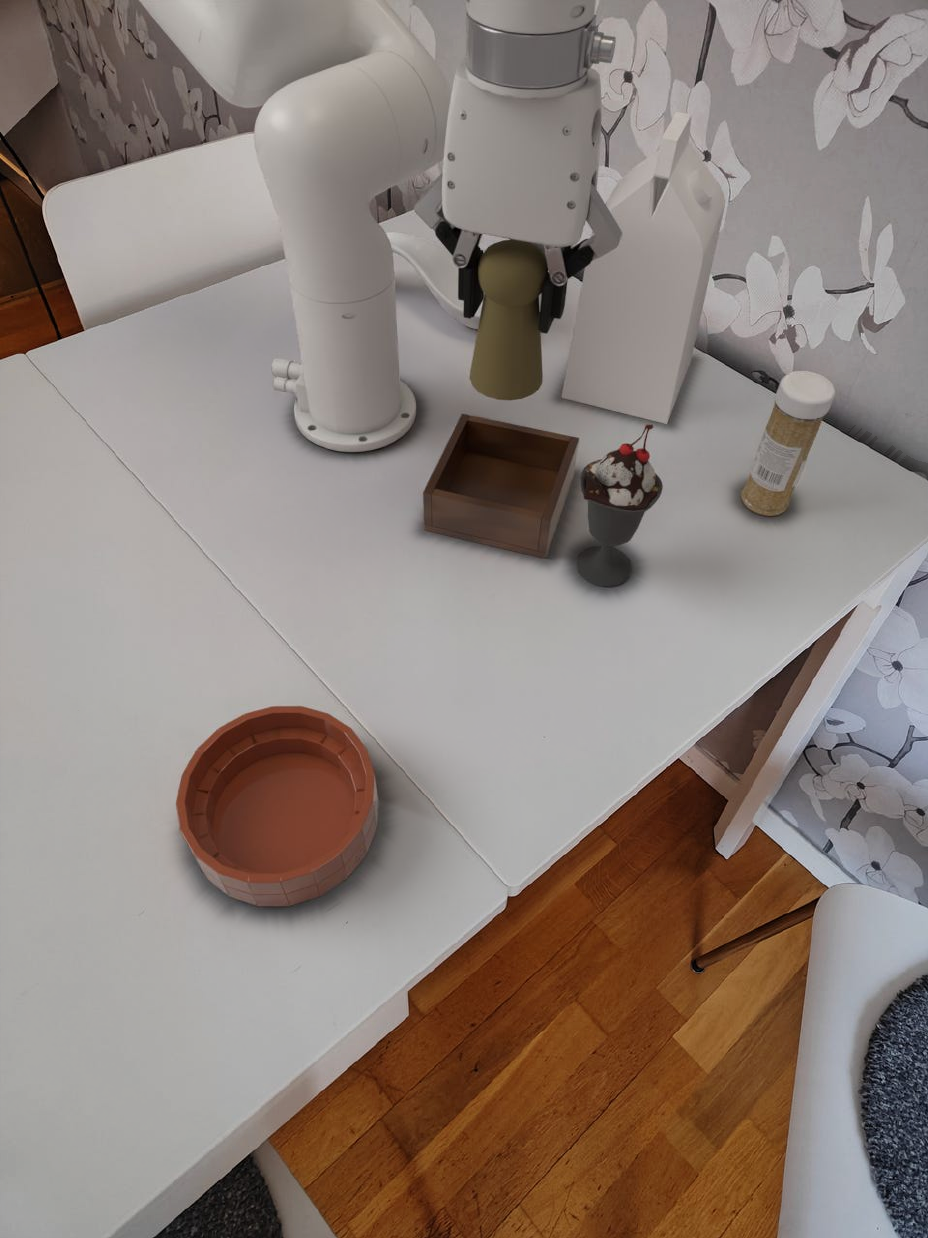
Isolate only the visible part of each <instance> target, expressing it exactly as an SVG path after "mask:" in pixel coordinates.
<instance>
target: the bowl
mask: <svg viewBox="0 0 928 1238" xmlns="http://www.w3.org/2000/svg"><path fill="white" fill-rule="evenodd" d="M175 806H176V813H177V820H178V826H179V831H180V833H181V835H182V837H183V839H184V840H185V842H186V844H187V846H188V848H189V850H190V852H191V853H192V855H193V856H194V859H195V860H196V863H198V865H199V867H200V869H201V871H202V872H203V874H204V876H205V877H206V879H207V880H208V881H209V882H210V883H212V884H213V885H214V886H216V887H217V888H218V889H219V890H220V891H222V892H223V893H224V894H226V895H227V896H228V897H230V898H231V899H234V900H235V899H236V900H238V901H241V902H244V903H247V904H250V905H254V906H258V907H290V906H294V905H297V904H301V903H304V902H306V901H310V900H312V899H316V898H319V897H322V896H323V895H325V894H326V893H328V892H329V891H331V890H332V889H333V888H335V887H337V886H338V885H339V884H341V883H342V882H344V881H346V880H347V879H348V878H349V877H350V875H351V874H352V873H353V872H354V870H355V869H356V868H357V867H358V866H359V864H360V863H361V862H362V861H363V860H364V858H365V857H366V855H367V854H368V851H369V849H370V846H371V844H372V842H373V839H374V837H375V834H376V831H377V827H378V814H379V797H378V790H377V781H376V774H375V770H374V767H373V764H372V761H371V758H370V755H369V751H368V748H367V747H366V746H365V744H364V743H363V742H362V740H361V739H360V738H359V737H358V735H357V734H356V733H355V731H354V730H353V729H352V727H350V726H348V724H345V723H344V722H342V721H341V720H340V719H338V718H336V717H335V716H333V715H332V714H330V713H327V712H324V711H321V710H318V709H313V708H310V707H307V706H303V705H274V706H269V707H265V708H264V707H263V708H261V709H257V710H253V711H249V712H246V713H243V714H242V715H240V716H238V717H236V718H234V719H232V720H230V721H229V722H227V723H225V724H224V725H221V726H220V727H218V728H217V729H216V730H215V731H214V732H212V734H210V736H209V737H208V738H207V739H205V740H204V741H203V742H202V743H201V744H200V745H199V746H198V747H197V748H196V749H195V751H194V753H193V755H192V756H191V758H190V760H189V761H188V763H187V765H186V767H185V768H184V770H183V772H182V774H181V777H180V781H179V786H178V791H177V796H176V800H175Z"/></svg>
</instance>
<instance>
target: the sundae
mask: <svg viewBox="0 0 928 1238" xmlns="http://www.w3.org/2000/svg"><path fill="white" fill-rule="evenodd" d="M652 429H654V425H653V424H645V426H644V429H643V431H642V434H641V435H640V436H639V437H638V438H637V439H636V440H635V441H633V442H631V443H628V442H625V443H622V444H621V445H620V446H619V448H618V449H615V450H611V451H609V452H607V453H606V454H605V455H604V456H603V457H602V458H601V459H597V460H595V461H592V462H589V463H588V464H587V465H586V466H584V467H583V469H582V471H581V474H580V476H579V477H580V478H579V483H580V484H579V485H580V491H581V493H582V495H583V499H584V500H585V501H587V522H588V529H589V533H590V535H591V536H592V538H593V539H595V540H596V541H597V542H598V543H600V544H596V545H592V546H589V547H586V548H585V549H584V550H582V551H581V552H580V553H579V554H578V556H577V558H576V563H575V564H576V569H577V572H578V573H579V575H580V576H581V577H582V579H584V580H585V581H587V582H589V583H591V584H592V585H595V586H599V587H615V586H619V585H621V584H623V583H624V582H626V581H627V580H628V579H629V577H630V576H631V573H632V569H633V566H632V563H631V560H630V558H629V557H628V555H627V554H626V553H625V552H623V551H622V550H621V549H619V548H616V547H618V546H621V545H624V544H627V543H628V542H630V541H631V540H632V538H633V537H634V535H635V534H636V532H637V530H638V529H639V527H640V524H641V522H642V519H643V517H644V515H645V513H646V512H647V511H648V510H650V509H651V508H653V506H654V505H655V504H656V503H657V501H659V499H660V497H661V495H662V492H663V485H664V484H663V482H662V479H661V477H660V476H659V475H658V474H657V472H655V469H654V467H653V464H652V463H651V462H650V461H649V460H650V458H651V454H650V452H649V451H648V450H647V449H646V444H647V438H648V434H649V431H650V430H652ZM644 434H645V436H644ZM643 436H644V440H643V446H642V448H641V447H640V448H637V449H636V450H635V449H634V445H635V444H636V443H638V442H639V441H640V440H641V438H643Z"/></svg>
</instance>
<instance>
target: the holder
mask: <svg viewBox="0 0 928 1238" xmlns="http://www.w3.org/2000/svg"><path fill="white" fill-rule="evenodd" d="M579 443H580V437H577V436H572V435H568V434H562V433H558V432H553V431H549V430H544V429H539V428H534V427H529V426H524V425H520V424H515V423H510V422H505V421H501V420H496V419H491V418H485V417H482V416H477V415H471V414H467V413H461V414H460V416H459V419H458V421H457V423H456V424H455V427H454V428H453V431H452V433H451V435H450V437H449V438H448V440H447V443H446V444H445V447H444V449H443V451H442V453H441V455H440V457H439V460H438V461H437V463H436V466H435V468H434V470H433V472H432V473H431V475H430V477H429V480H428V481H427V483H426V485H425V488H424V490H423V492H422V498H423V499H422V502H423V504H422V505H423V527H424V531H427V532H431V533H434V534H435V533H436V534H440V535H444V536H448V537H452V538H456V539H459V540H460V539H461V540H465V541H470V542H473V543H478V544H480V545H486V546H490V547H494V548H499V549H503V550H507V551H512V552H516V553H519V554H520V553H521V554H525V555H529V556H533V557H537V558H542V559H546V558H547V556H548V553H549V550H550V547H551V544H552V541H553V538H554V535H555V532H556V530H557V526H558V524H559V521H560V517H561V515H562V511H563V508H564V505H565V503H566V500H567V497H568V494H569V492H570V488H571V485H572V483H573V479H574V476H575V469H576V463H577V459H578V458H577V457H578V450H579V445H580V444H579Z"/></svg>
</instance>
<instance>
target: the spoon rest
mask: <svg viewBox="0 0 928 1238" xmlns="http://www.w3.org/2000/svg"><path fill="white" fill-rule="evenodd" d="M385 233H386V235H387V236H388V238H389V241H390V244H391V248H392V252H393V253H394V254H397V255H398V256H400V257H402V258H403V259H405V260H406V261H407V262H408V263H409V264H410V265H411V266H412V267H413V269H414V270H415V271H416V272H417V274H418V275H419V276H420V278H421V279H422V281H423V283H425V284H426V286H427V287H428V289H429V291H430V292H431V293H432V295H433V296H434V298H435V299H436V300H437V302H438V303H439V305H440V306H441V307H442V308H443V310H444V311H445V312H446V313H447V314H448V315H449V316H450V317H451V318H453V319H454V320H455V321H457V322H458V323H460V324H462V325H464V326H466V327H468V328H470V329H473V330H478V326H479V320H480V315H481V309H482V304H483V301H482V303H481V305H480V306H479V308H478V310H477V312H476V314H475V316H474V317H471V319H469V318H464V316H463V312H464V301H462V300H459V299H458V267H457V266H455V264H454V263H453V260H452V258H453V256H452V255H451V253H450V252H449V251H448V250H447V249H446V247H445V246H444V245H443V244H442V243H441V242H437V241H434V240H430V239H428V238H424V237H421V236H417V235H413V234H409V233H405V232H400V231H387V232H386V231H385Z"/></svg>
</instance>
